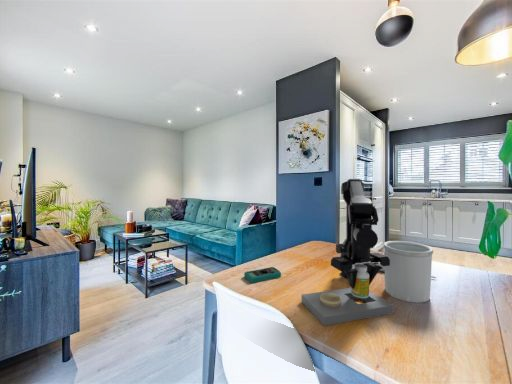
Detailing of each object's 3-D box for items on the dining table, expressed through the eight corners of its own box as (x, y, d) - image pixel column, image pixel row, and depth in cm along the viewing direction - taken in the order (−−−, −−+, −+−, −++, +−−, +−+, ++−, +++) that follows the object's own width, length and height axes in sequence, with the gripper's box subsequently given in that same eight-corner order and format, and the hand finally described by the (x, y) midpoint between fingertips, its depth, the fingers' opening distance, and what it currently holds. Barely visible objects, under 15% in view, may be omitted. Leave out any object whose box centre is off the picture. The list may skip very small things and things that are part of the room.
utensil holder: (419, 308, 76) (420, 254, 75) (374, 290, 89) (375, 243, 88) (439, 296, 84) (441, 247, 83) (395, 281, 96) (396, 238, 96)
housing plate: (361, 292, 87) (361, 281, 87) (393, 313, 73) (393, 300, 73) (301, 301, 80) (301, 290, 80) (324, 326, 67) (324, 312, 67)
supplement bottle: (360, 300, 75) (360, 269, 74) (347, 292, 80) (347, 264, 79) (372, 296, 77) (373, 267, 76) (359, 289, 82) (359, 261, 81)
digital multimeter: (282, 277, 102) (282, 271, 102) (250, 284, 95) (250, 277, 95) (273, 272, 108) (273, 265, 108) (243, 278, 102) (243, 271, 101)
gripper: (366, 233, 88) (366, 274, 89) (321, 236, 83) (321, 280, 84) (391, 240, 77) (390, 287, 78) (341, 244, 72) (341, 295, 73)
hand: (359, 287), depth 78 cm, fingers closed on supplement bottle, 5 cm apart
